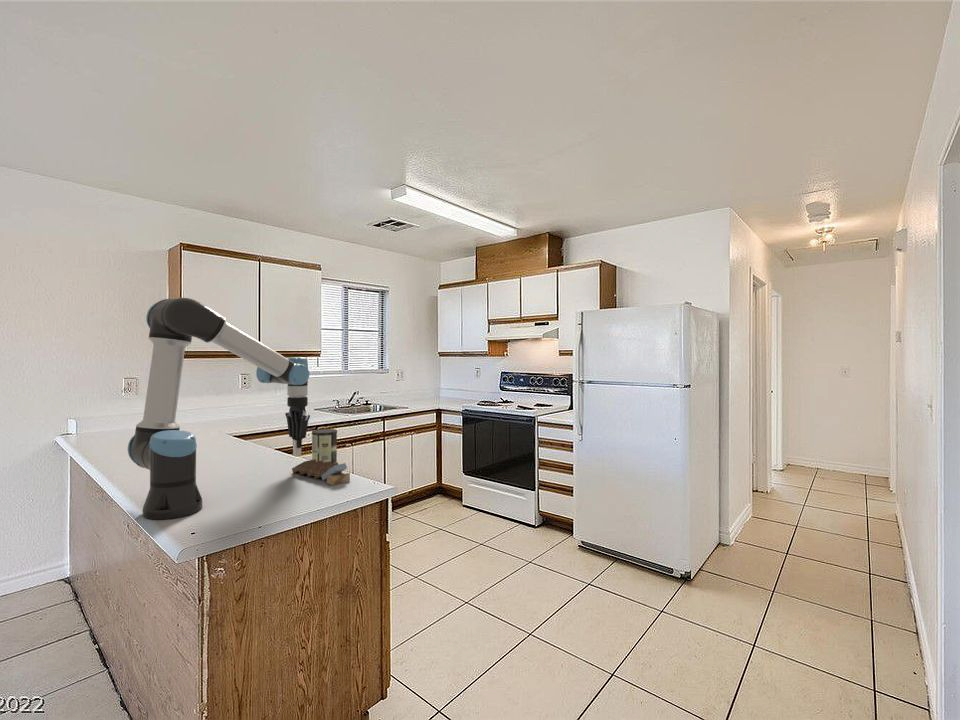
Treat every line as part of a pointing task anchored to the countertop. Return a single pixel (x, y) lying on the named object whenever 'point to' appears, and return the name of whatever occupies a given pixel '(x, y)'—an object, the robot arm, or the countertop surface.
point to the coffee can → (324, 445)
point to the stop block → (338, 478)
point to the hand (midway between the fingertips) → (297, 455)
